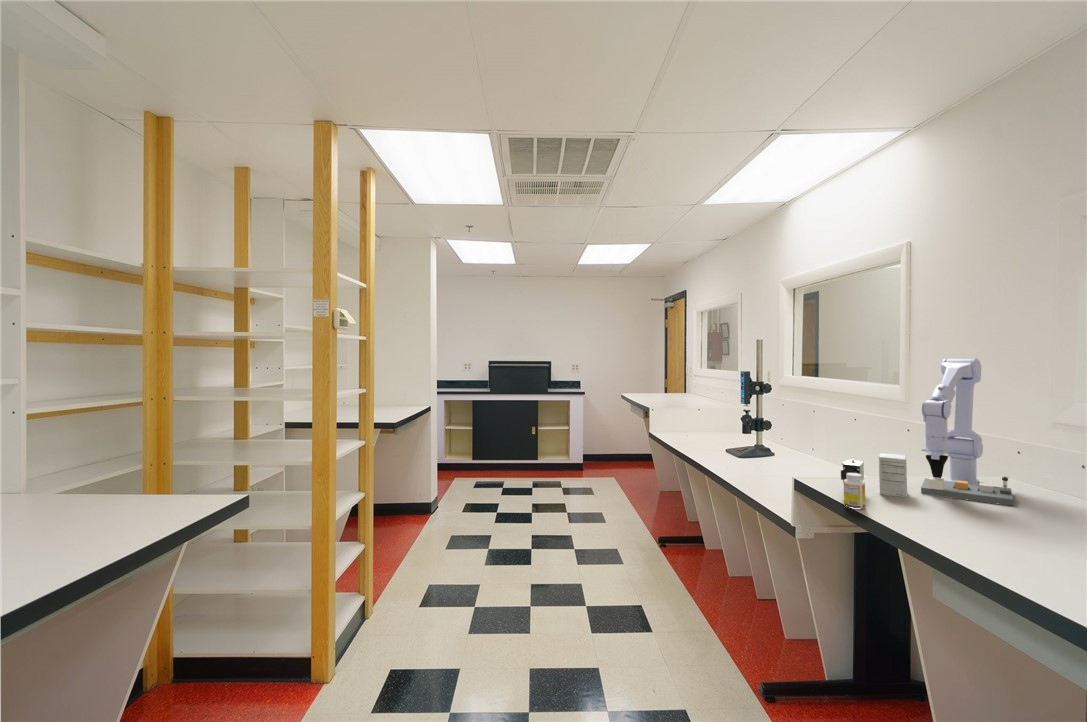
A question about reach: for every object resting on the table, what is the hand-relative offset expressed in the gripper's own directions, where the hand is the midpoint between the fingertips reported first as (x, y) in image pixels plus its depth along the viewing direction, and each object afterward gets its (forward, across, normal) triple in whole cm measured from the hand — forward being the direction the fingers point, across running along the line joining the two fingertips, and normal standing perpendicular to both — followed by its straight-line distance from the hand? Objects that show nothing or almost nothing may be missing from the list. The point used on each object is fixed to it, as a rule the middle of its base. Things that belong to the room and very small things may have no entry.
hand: (937, 477), depth 162 cm
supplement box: (+5, +9, -11) cm, 15 cm away
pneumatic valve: (+5, +19, -21) cm, 29 cm away
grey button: (+4, -3, +12) cm, 13 cm away
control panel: (+5, -4, +7) cm, 10 cm away
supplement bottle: (+5, +33, -18) cm, 38 cm away
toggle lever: (+2, -3, +16) cm, 17 cm away
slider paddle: (+3, +3, 0) cm, 4 cm away
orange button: (+4, -3, +6) cm, 8 cm away
